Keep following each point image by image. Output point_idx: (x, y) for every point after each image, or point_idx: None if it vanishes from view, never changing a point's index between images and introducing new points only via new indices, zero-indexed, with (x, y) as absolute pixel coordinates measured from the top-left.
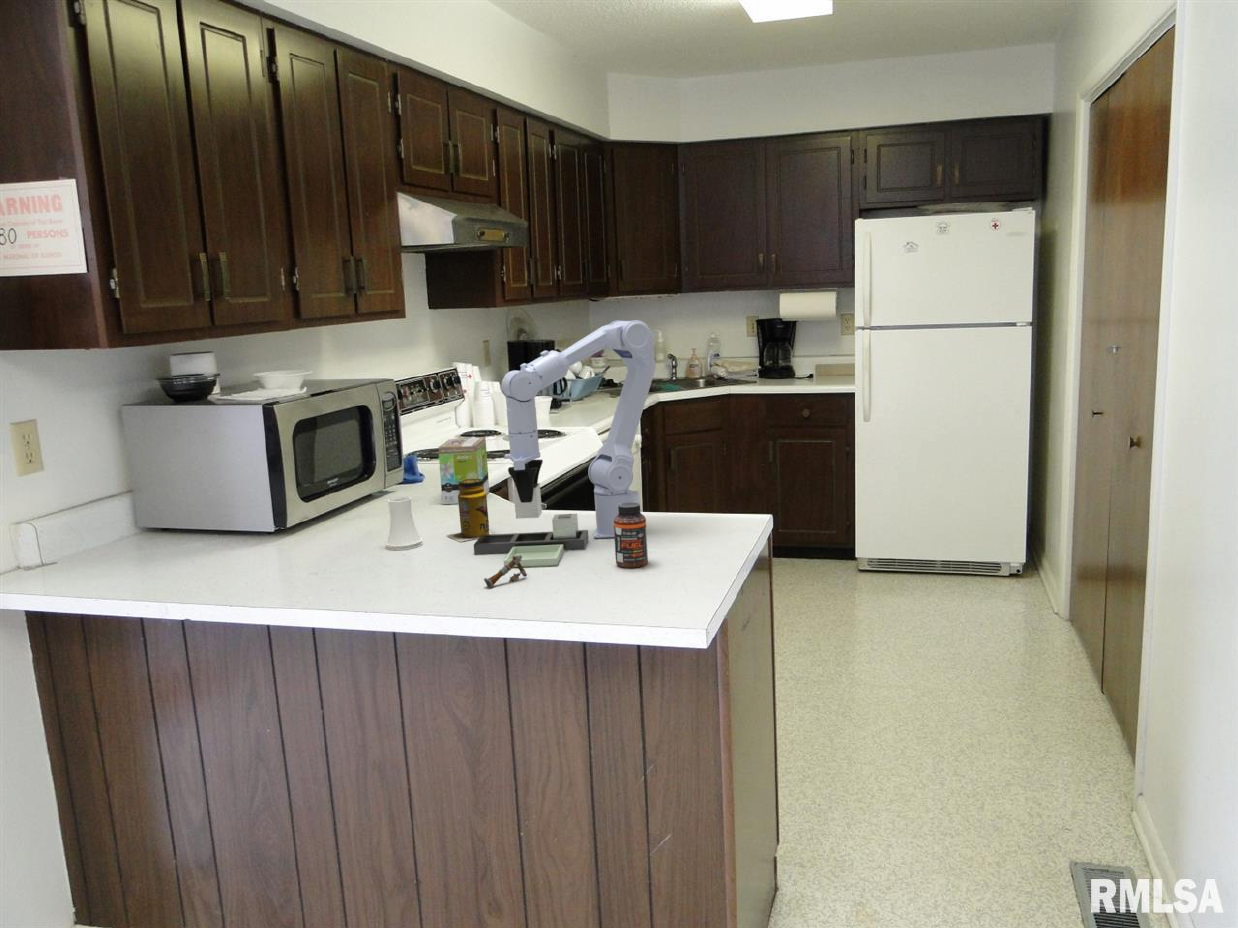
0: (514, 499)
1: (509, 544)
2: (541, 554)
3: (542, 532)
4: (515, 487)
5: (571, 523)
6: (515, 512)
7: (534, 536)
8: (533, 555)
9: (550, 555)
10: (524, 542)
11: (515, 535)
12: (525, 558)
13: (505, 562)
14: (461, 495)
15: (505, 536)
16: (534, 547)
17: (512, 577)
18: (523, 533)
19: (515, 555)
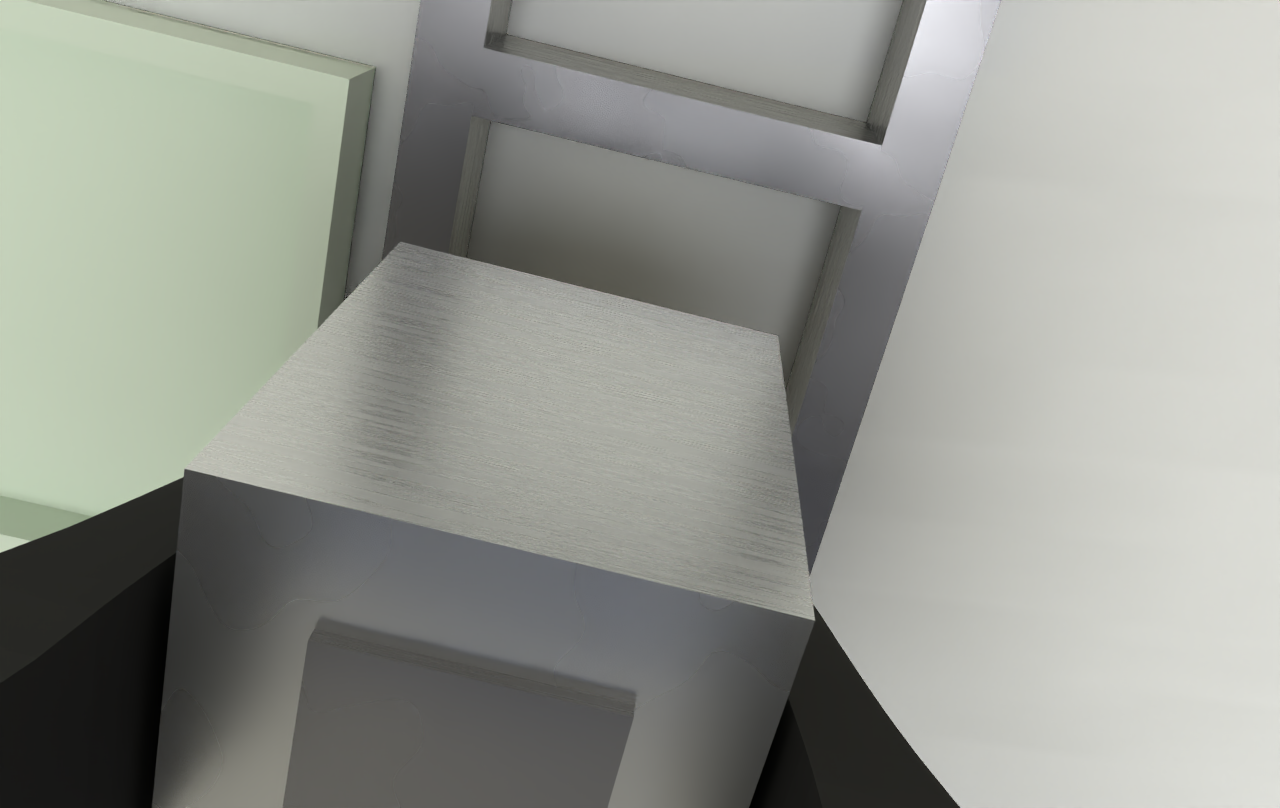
0: (293, 362)
1: (416, 41)
2: (199, 368)
3: (811, 489)
4: (373, 533)
5: None
6: (370, 273)
7: (804, 380)
8: (182, 284)
9: (134, 447)
10: (388, 239)
11: (818, 154)
12: (70, 189)
13: None
14: None
15: (921, 12)
16: (288, 329)
17: None
18: (876, 266)
19: (231, 86)
